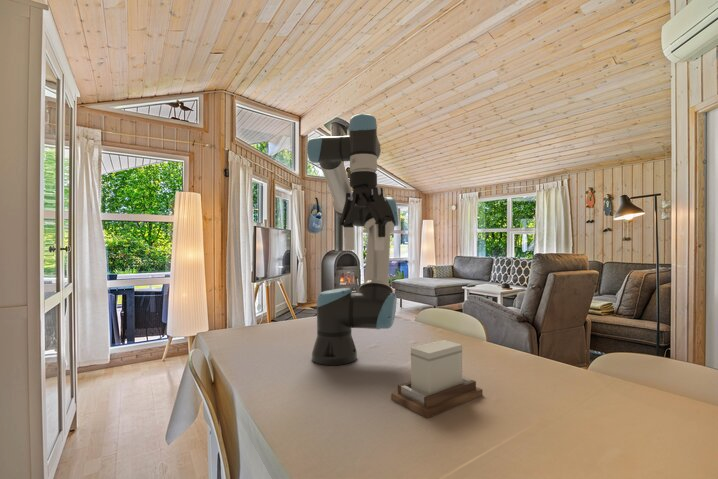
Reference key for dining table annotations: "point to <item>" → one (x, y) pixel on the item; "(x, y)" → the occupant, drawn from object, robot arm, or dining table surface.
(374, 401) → the dining table surface
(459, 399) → the tray
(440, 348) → the white lidded box
